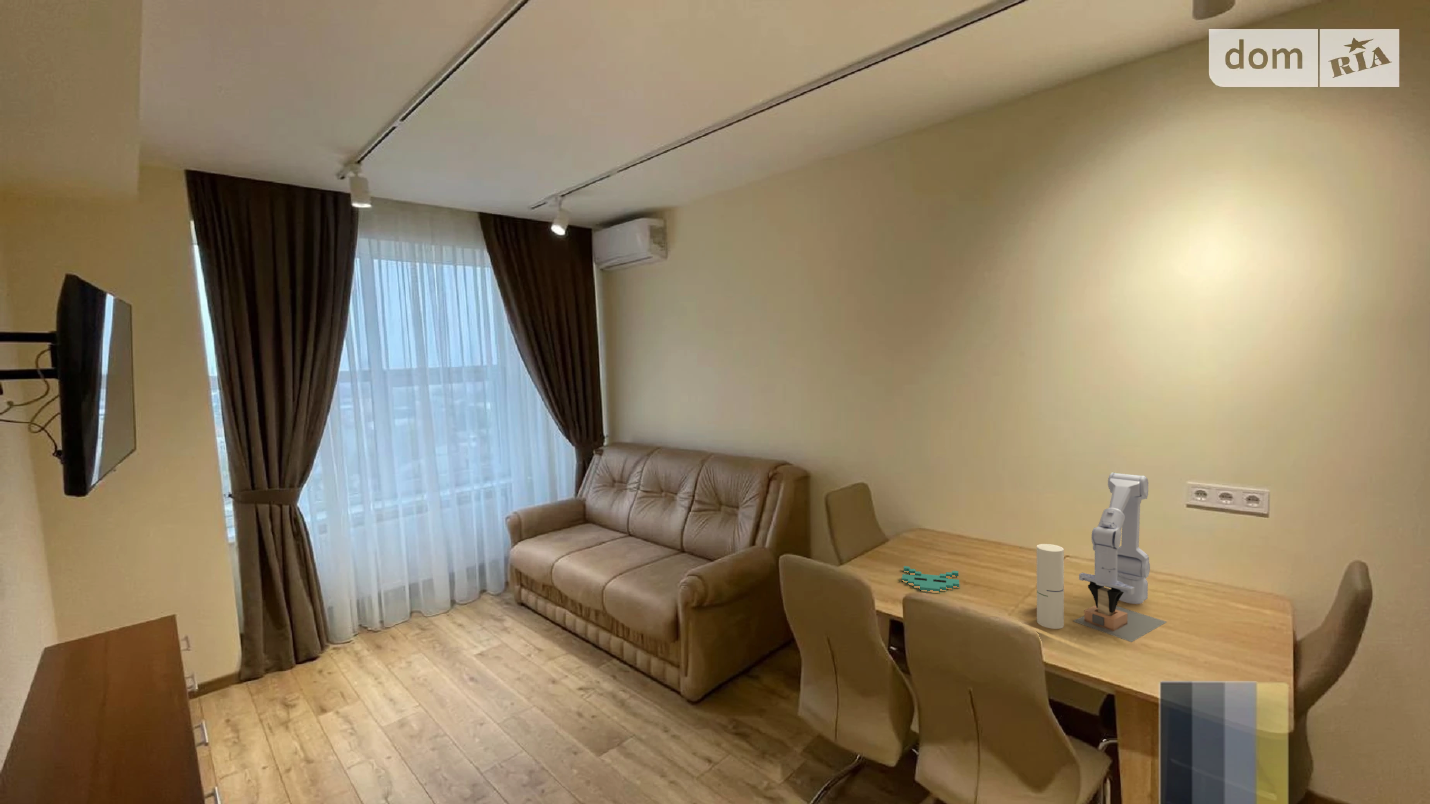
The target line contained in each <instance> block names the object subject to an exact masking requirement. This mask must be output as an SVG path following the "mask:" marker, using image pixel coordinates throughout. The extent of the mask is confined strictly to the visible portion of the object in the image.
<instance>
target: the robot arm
mask: <svg viewBox="0 0 1430 804" xmlns="http://www.w3.org/2000/svg"><path fill="white" fill-rule="evenodd" d="M1107 478H1108V479H1107V486H1108V489H1109V492H1110V493H1111V496H1110V497H1111V498H1110V502H1109V505H1108V508H1105V509H1104V510H1103V512H1102V514H1101V517H1100V520H1099V522H1098V525H1097V527H1094V528H1093V529H1092V532H1091V544H1092V549H1093V551H1094V574H1092V573H1087V572H1086V573H1085V572H1081V573H1079V574H1078V580H1079V581H1085V582H1089V584H1087V589H1088V590H1089V591H1090V593H1091V595H1092V597H1093V599H1094V602H1095V603H1094V604H1095V605H1096V607H1097V608H1098V589H1099V588H1101V587H1105V588H1109V589H1110V590H1108V591H1107V593H1108V597H1109V612H1111V613H1113V612H1115V609H1116V606H1118V603H1119V601H1121V602H1124V603H1127V604H1133V605H1135V604H1136V605H1139V604H1143V603H1144V601H1146V600H1147V599H1148V597H1149V594H1148V593H1149V590H1148V589H1149V588H1148V587H1149V585H1148V584H1149V582H1148V580H1147V578H1148V577H1149V575H1150V570H1151V564H1150V557H1149V554H1147V553H1146V552H1145V551H1144V550H1143V549H1141V548H1140V547H1139V546H1140V524H1141V523H1140V519H1141V518H1140V517H1141V503H1142V500H1147V499H1148V496H1149V479H1148V478H1147V476H1146V475H1139V474H1127V473H1118V472H1117V473H1116V472H1113V471H1112V472H1111V473H1110V474H1109V475H1108V477H1107Z"/></svg>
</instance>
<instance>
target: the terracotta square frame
mask: <svg viewBox="0 0 1430 804" xmlns="http://www.w3.org/2000/svg"><path fill="white" fill-rule="evenodd" d="M1083 613H1084V615H1083V616H1084V621H1086V622H1089V623H1092V624H1095V625H1097V626H1100V627H1103V628H1106V629H1109V630H1112V631H1115V630H1117V629H1119V628H1121V627H1123V626H1125V625H1126V624H1127V617H1128V613H1125V612H1122V611H1119V610H1117V609H1115V612H1114V615H1112V616H1108V615H1105V614H1102V613H1098V608H1097V607H1096V604H1094V605H1093V606H1090V607H1088V608H1087V609H1084V611H1083Z"/></svg>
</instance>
